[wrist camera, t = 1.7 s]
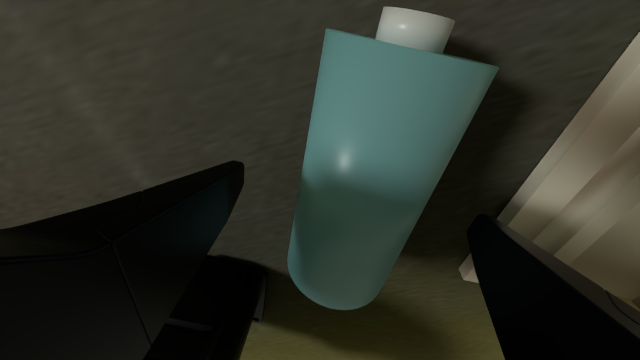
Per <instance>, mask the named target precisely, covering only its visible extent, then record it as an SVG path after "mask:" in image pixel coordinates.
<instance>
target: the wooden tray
mask: <svg viewBox="0 0 640 360" xmlns="http://www.w3.org/2000/svg"><path fill="white" fill-rule="evenodd" d="M497 220H499V221H501V222H502V223H504V224H505V225H507V226H508V227H510V228H511V229H513V230H514V231H516V232H517V233H519V234H521V235H522V236H524V237H525V238H527V239H528V240H530V241H531V242H533V243H534V244H536V245H538V246H539V247H541V248H542V249H544V250H545V251H547V252H548V253H550V254H551V255H553V256H555V257H556V258H558V259H559V260H561V261H562V262H564V263H565V264H567V265H568V266H570V267H571V268H573V269H575V270H576V271H578V272H579V273H581V274H582V275H584V276H585V277H587V278H588V279H590V280H592V281H593V282H595V283H596V284H598V285H599V286H601V287H602V288H603V289H604V290H607V291H609V292H610V293H612V294H613V295H615V296H616V297H618V298H619V299H621V300H622V301H624V302H626V303H627V304H629V305H630V306H632V307H633V308H635V309H637V310H638V311H640V32H639V33H638V35H637V36H636V37H635V39H634V40H633V41H632V42H631V44H630V45H629V46H628V48H627V49H626V50H625V52H624V53H623V54H622V55H621V57H620V58H619V59H618V61H617V62H616V63H615V65H614V66H613V67H612V69H611V70H610V71H609V72H608V74H607V75H606V76H605V78H604V79H603V80H602V82H601V83H600V84H599V86H598V87H597V88H596V89H595V91H594V92H593V93H592V95H591V96H590V97H589V99H588V100H587V101H586V103H585V104H584V105H583V106H582V108H581V109H580V110H579V112H578V113H577V114H576V116H575V117H574V118H573V120H572V121H571V122H570V123H569V125H568V126H567V127H566V129H565V130H564V131H563V133H562V134H561V135H560V136H559V138H558V139H557V140H556V142H555V143H554V144H553V146H552V147H551V148H550V150H549V151H548V152H547V153H546V155H545V156H544V157H543V159H542V160H541V161H540V163H539V164H538V165H537V167H536V168H535V169H534V170H533V172H532V173H531V174H530V176H529V177H528V178H527V180H526V181H525V182H524V184H523V185H522V186H521V187H520V189H519V190H518V191H517V193H516V194H515V195H514V197H513V198H512V199H511V200H510V202H509V203H508V204H507V206H506V207H505V208H504V210H503V211H502V212H501V214H500V215H499V216H498V217H497ZM458 269H459V271H460V273H461V276H462V278H463V280H467V281H472V282H477V283H479V282H478V279H477V276H476V273H475V269H474V265H473V260H472V256H471V253H470V254H469V255H468V257H467V258H466V259H465V261H464V262H463V263H462V264H461V266H460V267H459V268H458Z"/></svg>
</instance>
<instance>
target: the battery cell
mask: <svg viewBox="0 0 640 360" xmlns="http://www.w3.org/2000/svg"><path fill="white" fill-rule="evenodd" d="M454 23H455V21H454V20H452V19H449V18H446V17H442V16H439V15H435V14H430V13H426V12H421V11H416V10H410V9H404V8H397V7H384V8H383V11H382V15H381V19H380V23H379V26H378V30H377V34H376V38H373V37H368V36H363V35H358V34H354V33H349V32H344V31H338V30H333V29H326V31H325V37H324V43H323V49H322V55H321V61H320V67H319V73H318V79H317V85H316V91H315V97H314V103H313V109H312V115H311V121H310V127H309V133H308V138H307V144H306V150H305V156H304V162H303V168H302V174H301V180H300V186H299V192H298V198H297V204H296V210H295V216H294V222H293V228H292V234H291V240H290V245H289V251H288V258H287V264H288V270H289V273H290V276H291V278H292V280H293V282H294V283H295V285H296V286H297V287H298V289H299V290H300V291H301V292H302V293H303V294H304V295H305V296H307V297H308V298H309V299H311V300H312V301H314V302H316V303H318V304H320V305H322V306H325V307H327V308H331V309H336V310H352V309H357V308H360V307H363V306H365V305H367V304H369V303H370V302H371V301H373V300H374V298H375V297H376V296H377V295H378V293H379V292H380V290H381V288H382V286H383V284H384V282H385V281H386V279H387V277H388V275H389V273H390V271H391V269H392V267H393V266H394V264H395V262H396V260H397V258H398V256H399V254H400V253H401V251H402V249H403V247H404V245H405V243H406V241H407V239H408V238H409V236H410V234H411V232H412V230H413V228H414V226H415V225H416V223H417V221H418V219H419V217H420V215H421V213H422V211H423V210H424V208H425V206H426V204H427V202H428V200H429V198H430V197H431V195H432V193H433V191H434V189H435V187H436V185H437V183H438V182H439V180H440V178H441V176H442V174H443V172H444V170H445V169H446V167H447V165H448V163H449V161H450V159H451V157H452V155H453V154H454V152H455V150H456V148H457V146H458V144H459V142H460V140H461V139H462V137H463V135H464V133H465V131H466V129H467V127H468V126H469V124H470V122H471V120H472V118H473V116H474V114H475V112H476V111H477V109H478V107H479V105H480V103H481V101H482V99H483V98H484V96H485V94H486V92H487V90H488V88H489V86H490V84H491V83H492V81H493V79H494V77H495V75H496V73H497V71H498V70H499V68H500V67H497V66H493V65H490V64H486V63H482V62H478V61H474V60H470V59H466V58H462V57H457V56H453V55H449V54H445V53H443V50H444V48H445V45H446V43H447V41H448V38H449V36H450V33H451V31H452V28H453V26H454Z"/></svg>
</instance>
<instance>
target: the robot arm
mask: <svg viewBox="0 0 640 360" xmlns="http://www.w3.org/2000/svg"><path fill="white" fill-rule="evenodd" d="M243 184H244V164H243V163H242V162H238V161H229V162H226V163H223V164H220V165H217V166H214V167H211V168H208V169H205V170H202V171H199V172H196V173H193V174H190V175H187V176H184V177H181V178H178V179H175V180H172V181H169V182H166V183H163V184H160V185H157V186H154V187H151V188H148V189H145V190H143V191H139V192H136V193H133V194H130V195H127V196H124V197H121V198H117V199H114V200H111V201H108V202H104V203H101V204H97V205H94V206H90V207H87V208H83V209H79V210H76V211H72V212H68V213H65V214H61V215H57V216H54V217H50V218H46V219H43V220H39V221H35V222H32V223H28V224H24V225H20V226H16V227H11V228H6V229H0V360H239V359H240V356H241V353H242V350H243V347H244V344H245V341H246V338H247V335H248V332H249V329H250V326H251V323H252V322H255V323H260V322H262V319H263V316H264V307H265V298H266V289H267V279H268V272H267V271H266V270H264V269H261V268H256V267H252V266H247V265H242V264H237V263H233V262H228V261H223V260H219V259H214V258H209V257H206V255H207V253H208V252H209V250H210V248H211V247H212V245H213V243H214V242H215V240H216V239H217V237H218V235H219V234H220V232H221V230H222V229H223V227H224V225H225V224H226V222H227V220H228V218H229V216H230V214H231V212H232V210H233V208H234V205H235V203H236V201H237V199H238V196H239V194H240V192H241V190H242V187H243ZM467 238H468V243H469V247H470V252H471V256H472V260H473V265H474V269H475V273H476V276H477V279H478V282H479V285H480V288H481V291H482V293H483V296H484V299H485V302H486V305H487V308H488V311H489V314H490V317H491V320H492V323H493V326H494V328H495V331H496V334H497V337H498V340H499V343H500V346H501V349H502V352H503V355H504V358H505V360H640V311H638V310H637V309H635V308H633V307H632V306H630V305H629V304H627V303H626V302H624V301H622V300H621V299H619V298H618V297H616V296H615V295H613V294H612V293H610V292H609V291H607V290H604V289H603V288H602V287H601V286H599V285H598V284H596V283H595V282H593V281H592V280H590V279H588V278H587V277H585V276H584V275H582V274H581V273H579V272H578V271H576V270H575V269H573V268H571V267H570V266H568V265H567V264H565V263H564V262H562V261H561V260H559V259H558V258H556V257H555V256H553V255H551V254H550V253H548V252H547V251H545V250H544V249H542V248H541V247H539V246H538V245H536V244H534V243H533V242H531V241H530V240H528V239H527V238H525V237H524V236H522V235H521V234H519V233H517V232H516V231H514V230H513V229H511V228H510V227H508V226H507V225H505V224H504V223H502V222H501V221H499V220H497V219H496V218H494V217H493V216H490V215H485V214H479V215H478V216H477V217H476V218H475V220H474V221H473V223H472V224H471V225H470V227H469V228H468V230H467Z"/></svg>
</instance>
